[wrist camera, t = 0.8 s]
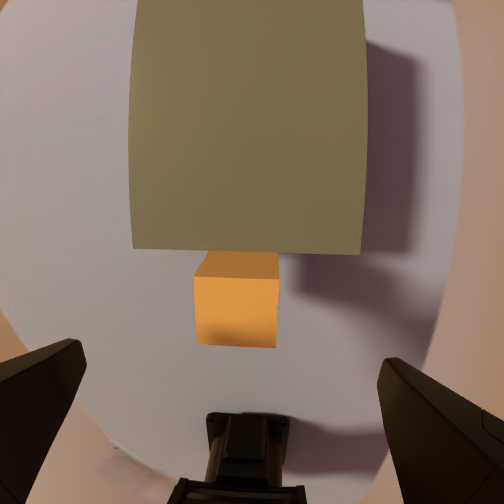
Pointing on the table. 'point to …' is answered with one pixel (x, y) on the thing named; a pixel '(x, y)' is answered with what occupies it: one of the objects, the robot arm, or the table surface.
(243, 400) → the table surface
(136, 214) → the lid
